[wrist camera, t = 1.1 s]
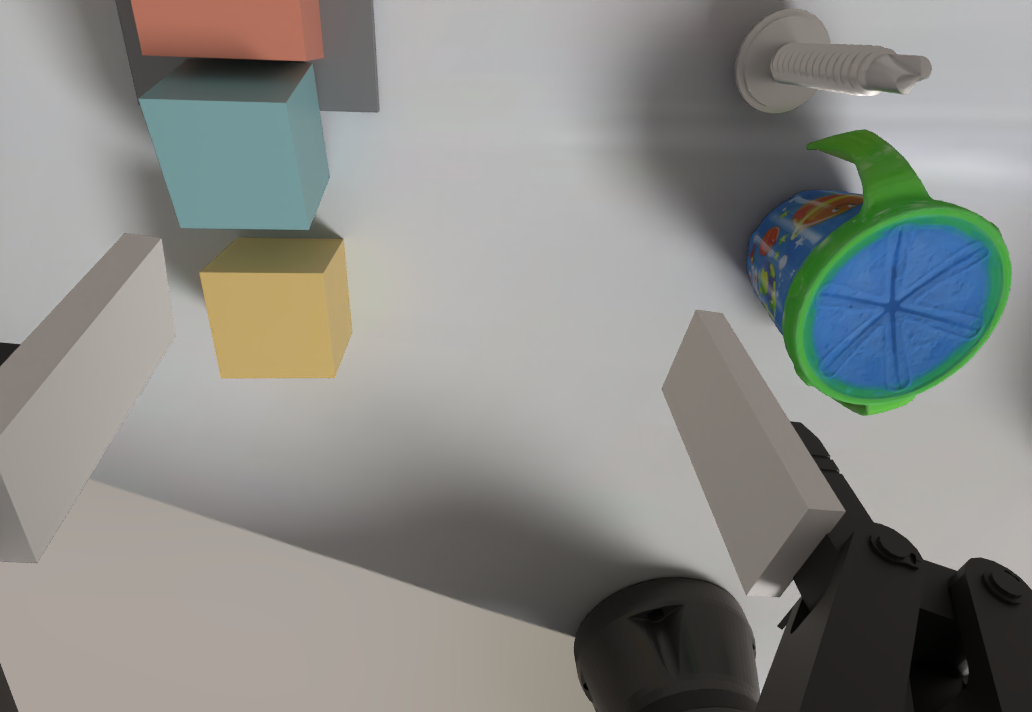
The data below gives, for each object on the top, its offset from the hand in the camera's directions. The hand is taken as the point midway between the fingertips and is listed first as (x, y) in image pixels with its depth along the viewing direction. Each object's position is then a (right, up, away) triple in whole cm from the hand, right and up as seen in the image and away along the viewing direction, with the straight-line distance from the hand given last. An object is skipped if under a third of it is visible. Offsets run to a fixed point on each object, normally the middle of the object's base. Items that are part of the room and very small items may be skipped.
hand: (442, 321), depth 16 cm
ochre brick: (-11, +3, +22) cm, 25 cm away
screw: (+15, +15, +18) cm, 28 cm away
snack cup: (+20, +6, +23) cm, 31 cm away
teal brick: (-11, +11, +17) cm, 23 cm away
